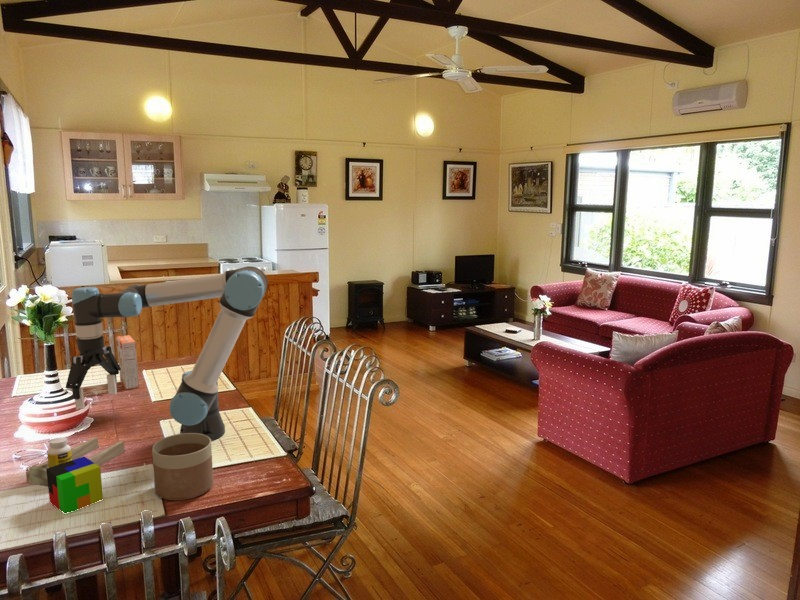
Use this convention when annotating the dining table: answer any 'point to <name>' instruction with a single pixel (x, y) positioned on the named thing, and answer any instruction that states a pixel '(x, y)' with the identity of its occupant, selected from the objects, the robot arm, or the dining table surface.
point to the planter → (182, 466)
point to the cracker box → (127, 362)
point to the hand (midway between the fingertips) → (97, 400)
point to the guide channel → (40, 474)
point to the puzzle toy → (74, 484)
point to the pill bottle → (58, 452)
